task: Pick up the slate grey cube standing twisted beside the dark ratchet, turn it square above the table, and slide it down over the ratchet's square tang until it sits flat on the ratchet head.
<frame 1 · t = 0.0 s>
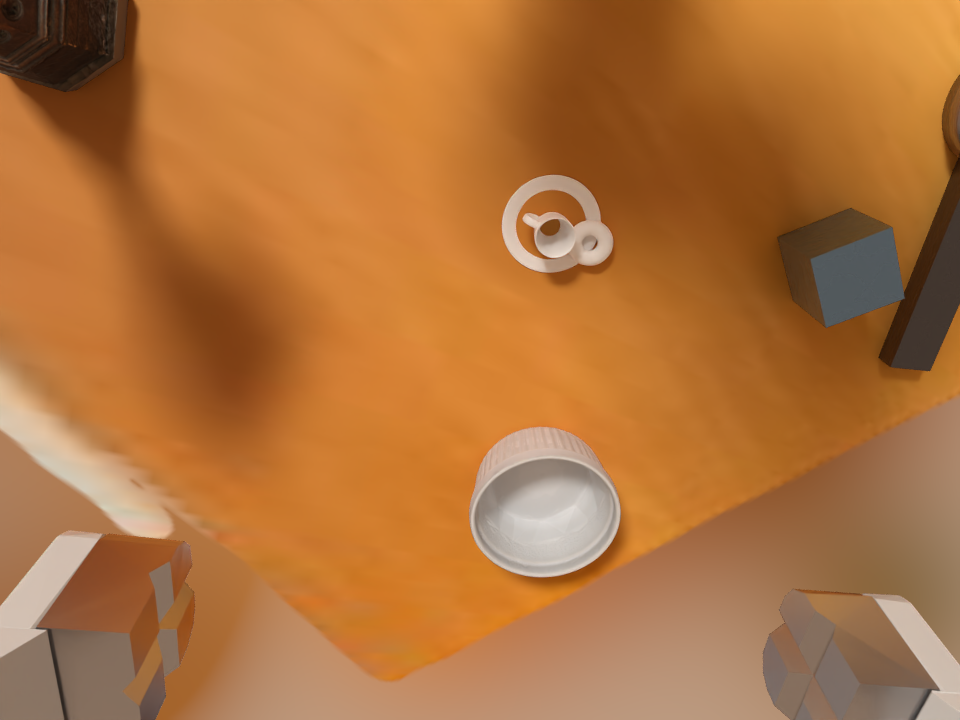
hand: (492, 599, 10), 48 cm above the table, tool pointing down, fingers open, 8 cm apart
slate grey cube: (821, 255, 58), on the table
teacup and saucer: (552, 259, 58), on the table
ramekin: (537, 473, 67), on the table
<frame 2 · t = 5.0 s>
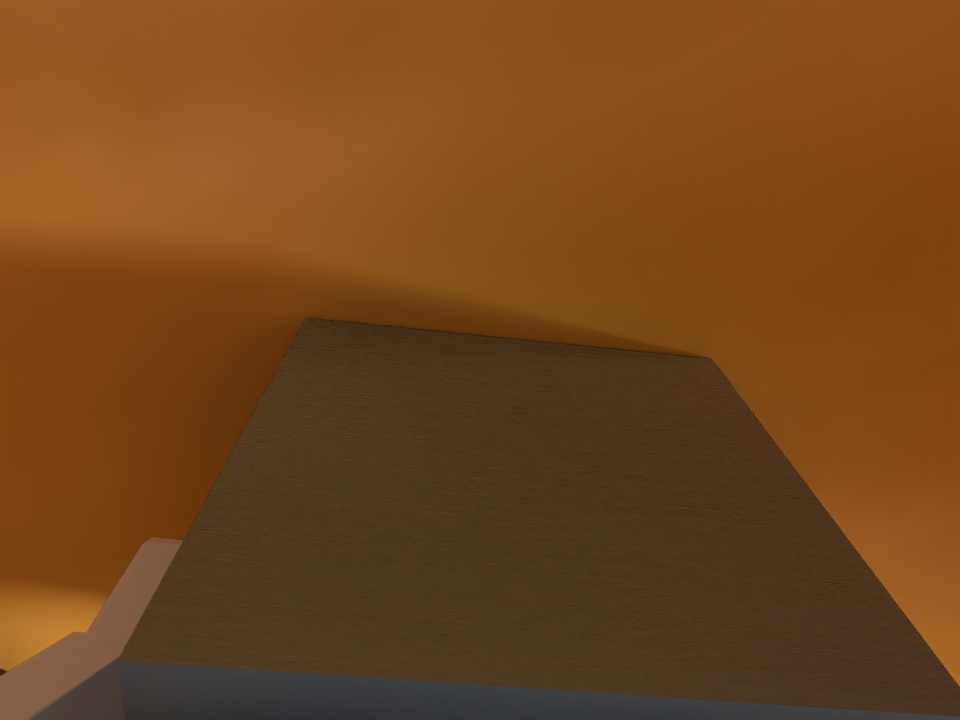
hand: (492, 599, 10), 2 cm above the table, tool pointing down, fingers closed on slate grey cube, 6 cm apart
slate grey cube: (487, 505, 11), on the table, touching gripper
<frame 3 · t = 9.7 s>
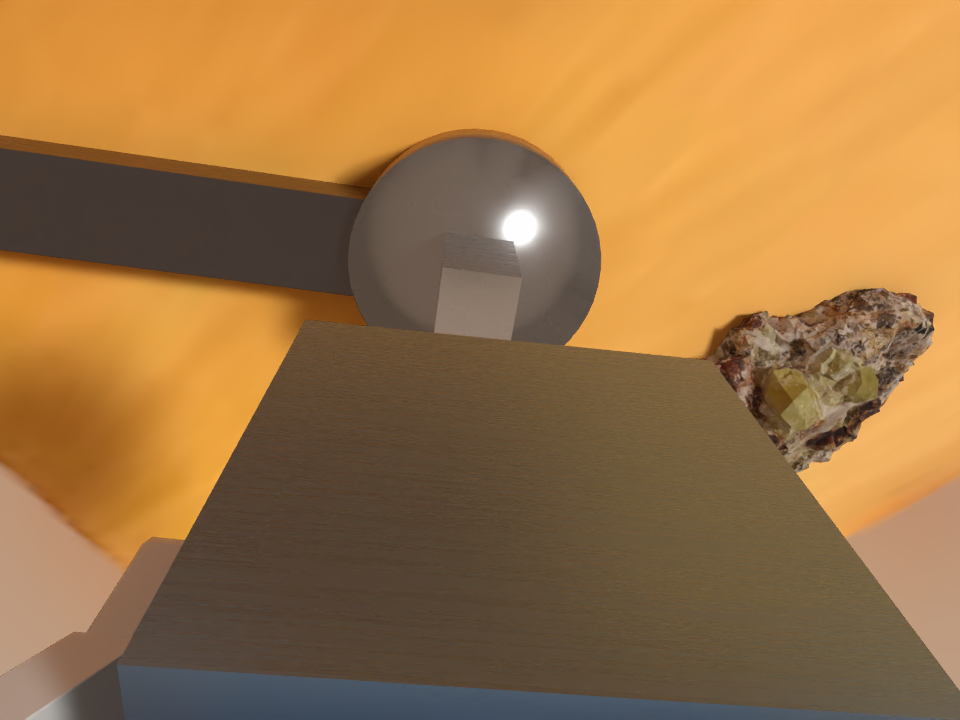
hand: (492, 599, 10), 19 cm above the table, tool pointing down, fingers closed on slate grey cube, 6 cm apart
slate grey cube: (487, 506, 11), point 17 cm above the table, touching gripper
mineral rock: (794, 372, 30), on the table
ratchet: (474, 249, 27), on the table
when the fingers open (5 cm above the table, at t = 14.4 s): slate grey cube stays where it is, resting on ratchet.
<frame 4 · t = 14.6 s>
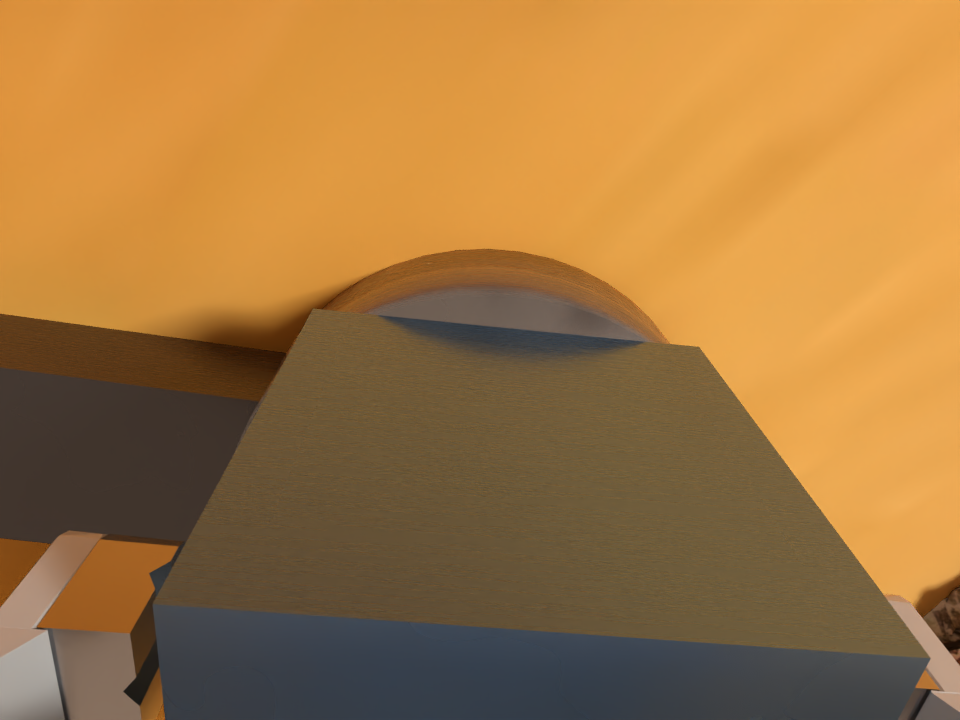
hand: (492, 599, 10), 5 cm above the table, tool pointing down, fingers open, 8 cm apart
slate grey cube: (486, 488, 12), point 2 cm above the table, touching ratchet
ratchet: (480, 456, 15), on the table, touching slate grey cube
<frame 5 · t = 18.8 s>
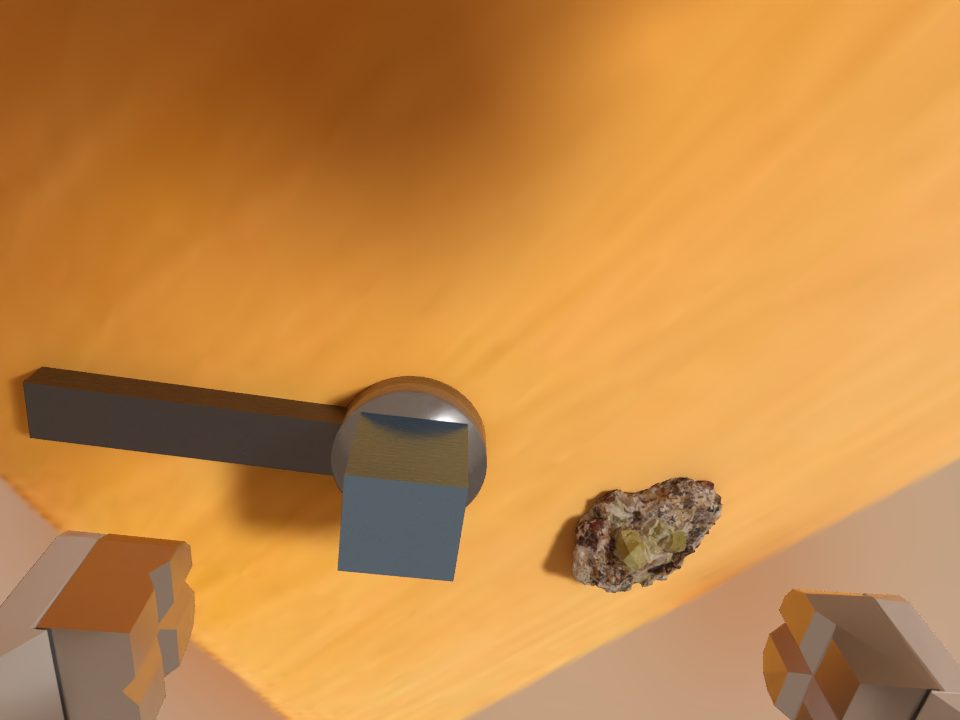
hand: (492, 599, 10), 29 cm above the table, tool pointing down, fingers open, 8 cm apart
slate grey cube: (409, 462, 40), point 2 cm above the table
mineral rock: (643, 522, 46), on the table
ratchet: (412, 441, 43), on the table
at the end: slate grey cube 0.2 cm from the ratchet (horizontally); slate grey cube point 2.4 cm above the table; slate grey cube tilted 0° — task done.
